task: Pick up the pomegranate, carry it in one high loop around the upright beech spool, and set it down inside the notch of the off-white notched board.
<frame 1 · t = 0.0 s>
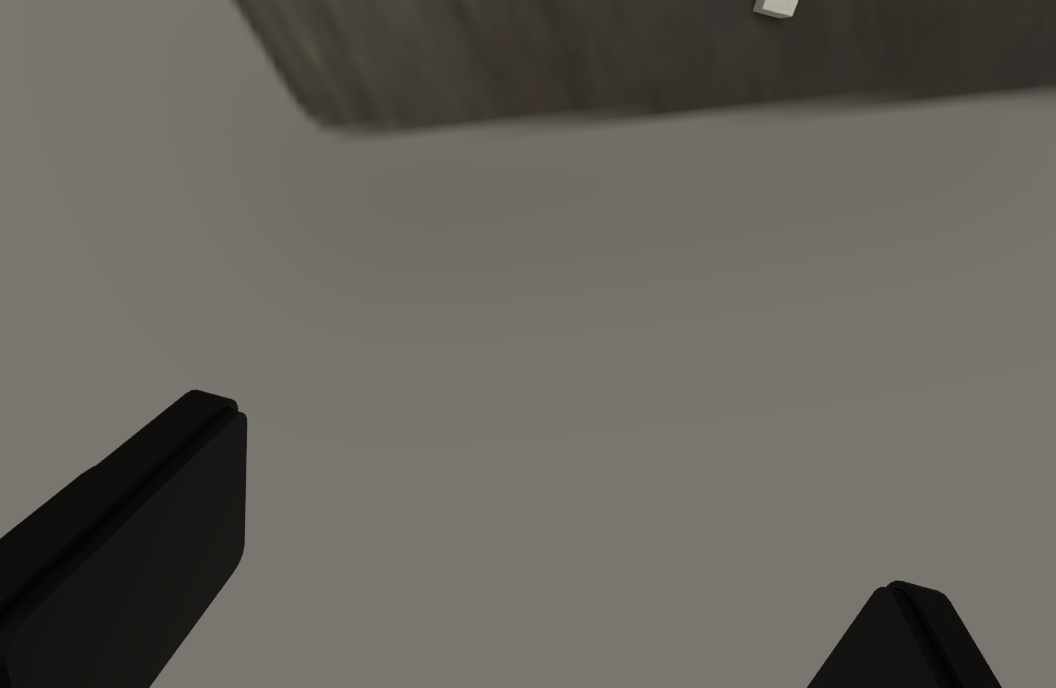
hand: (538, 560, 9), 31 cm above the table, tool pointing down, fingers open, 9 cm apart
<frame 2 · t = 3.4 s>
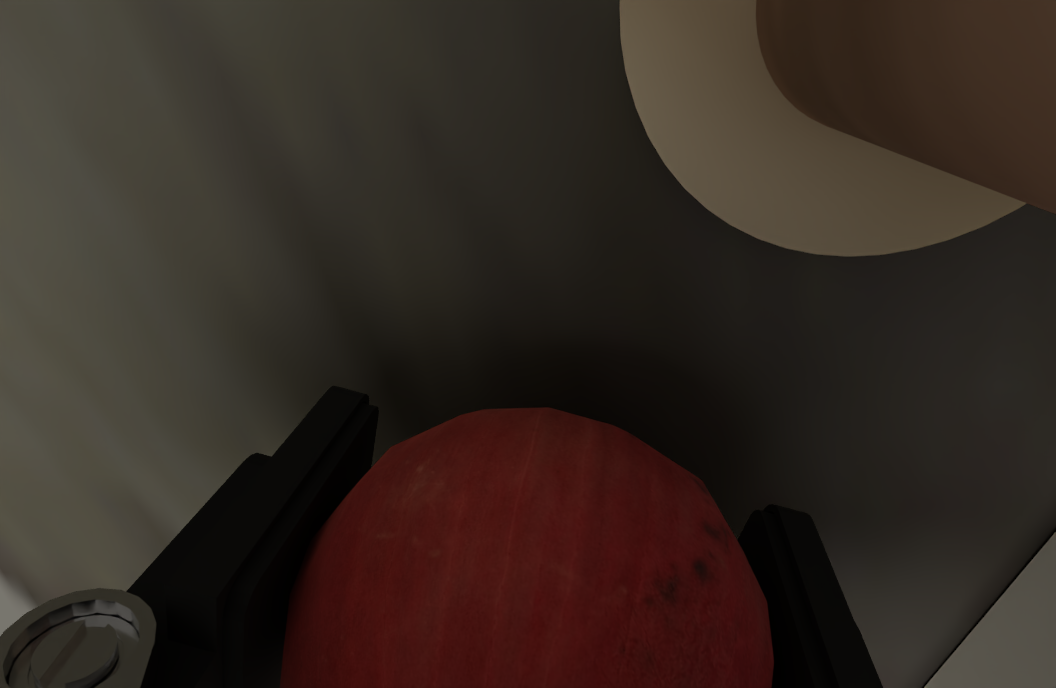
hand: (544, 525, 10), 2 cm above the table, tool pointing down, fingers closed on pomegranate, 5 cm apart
pomegranate: (554, 454, 11), on the table, touching gripper
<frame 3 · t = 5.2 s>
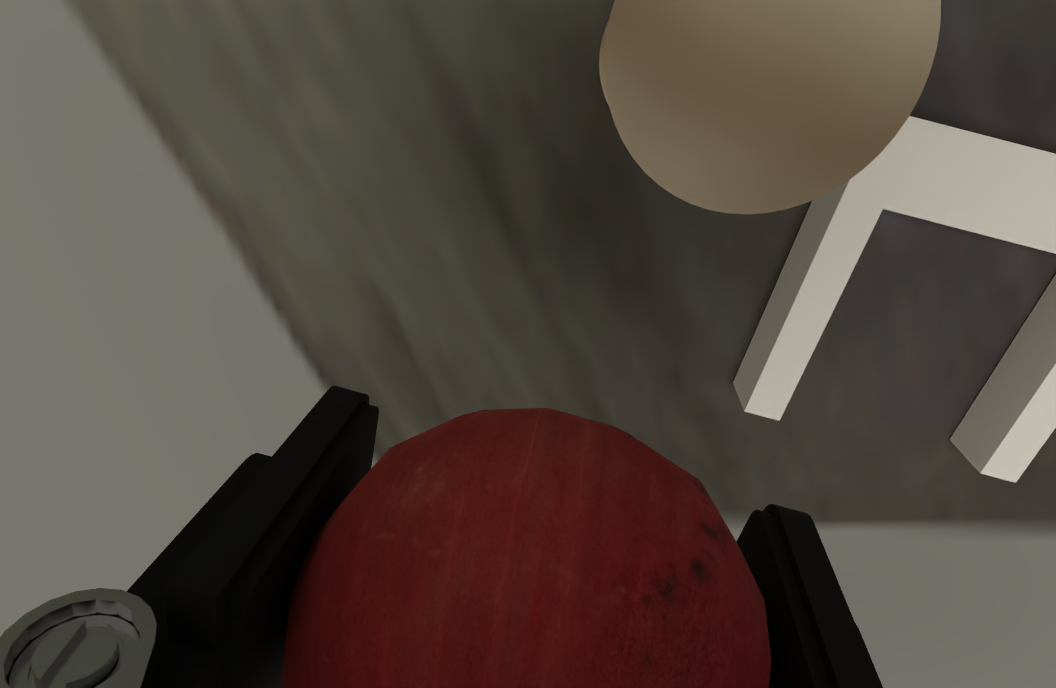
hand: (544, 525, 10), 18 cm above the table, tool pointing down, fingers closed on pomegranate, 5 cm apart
spool: (681, 59, 23), on the table
notched board: (924, 293, 25), on the table
pomegranate: (553, 454, 11), point 16 cm above the table, touching gripper
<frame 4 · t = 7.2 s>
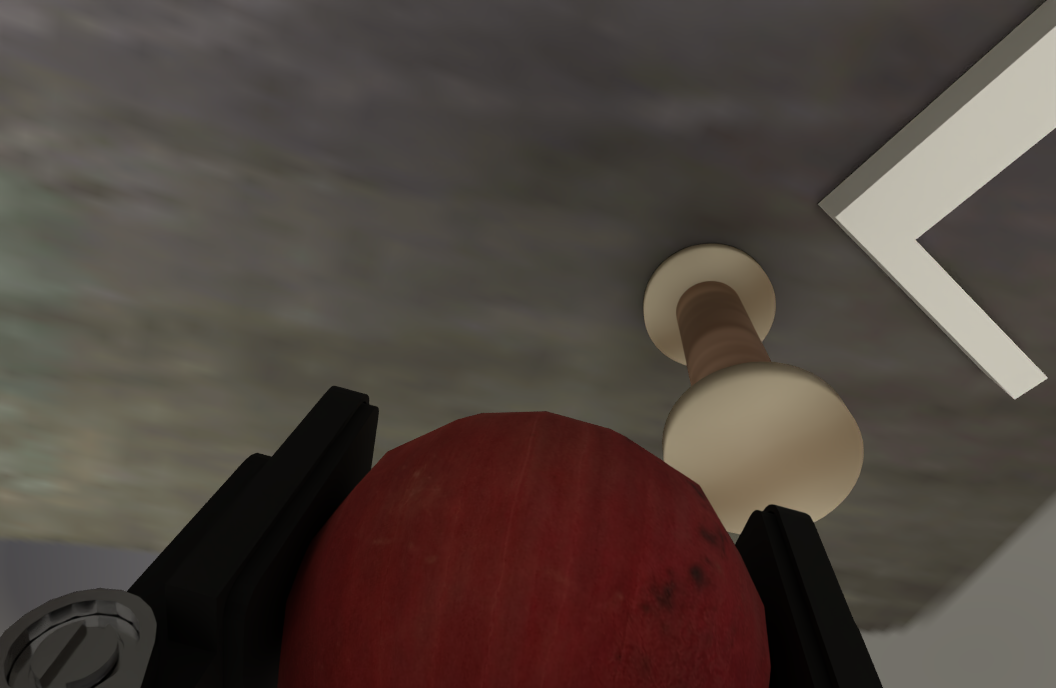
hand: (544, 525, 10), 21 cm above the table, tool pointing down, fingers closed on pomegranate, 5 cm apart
spool: (705, 303, 30), on the table
notched board: (1024, 199, 26), on the table
pomegranate: (552, 457, 11), point 19 cm above the table, touching gripper
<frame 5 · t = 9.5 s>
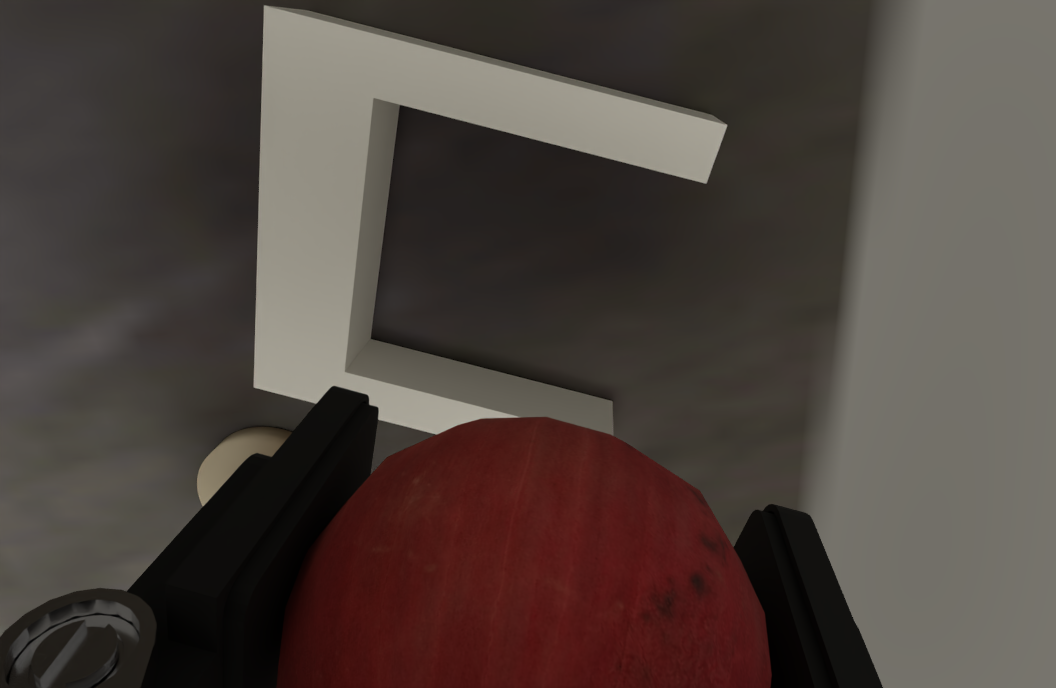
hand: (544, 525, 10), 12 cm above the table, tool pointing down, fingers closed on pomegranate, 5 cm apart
spool: (280, 486, 26), on the table
notched board: (472, 249, 20), on the table
pomegranate: (552, 461, 11), point 10 cm above the table, touching gripper
when the fingers open (3 cm above the table, at t = 11.2 s): pomegranate drops 1 cm, on the table.
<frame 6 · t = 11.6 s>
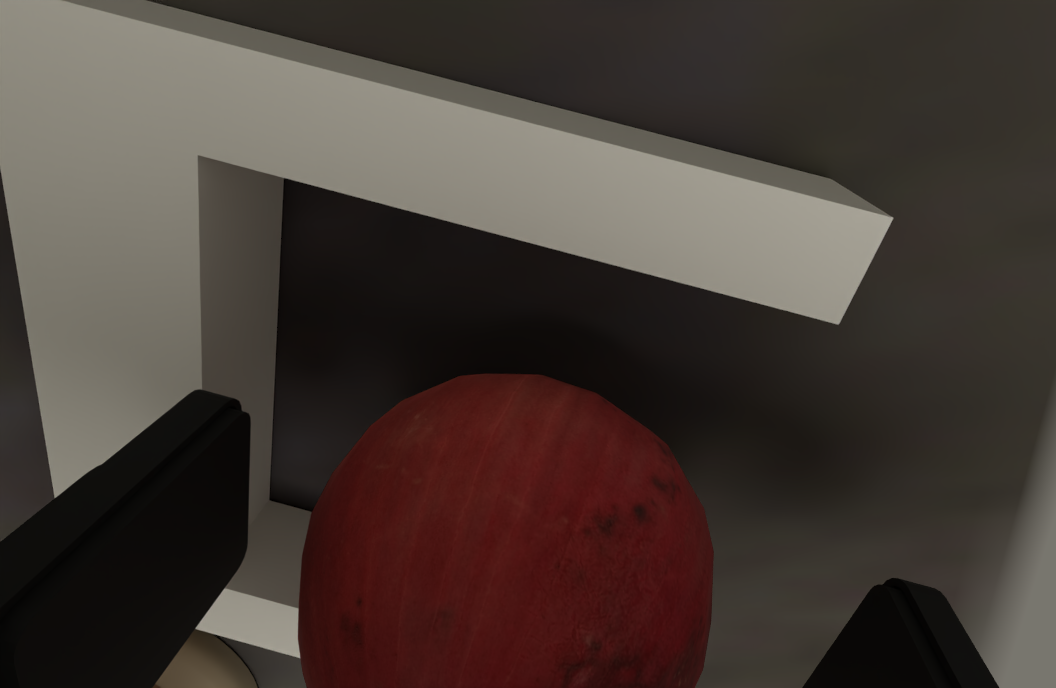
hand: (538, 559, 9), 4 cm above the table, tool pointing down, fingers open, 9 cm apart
spool: (162, 676, 18), on the table
notched board: (417, 382, 13), on the table
pomegranate: (560, 421, 13), on the table
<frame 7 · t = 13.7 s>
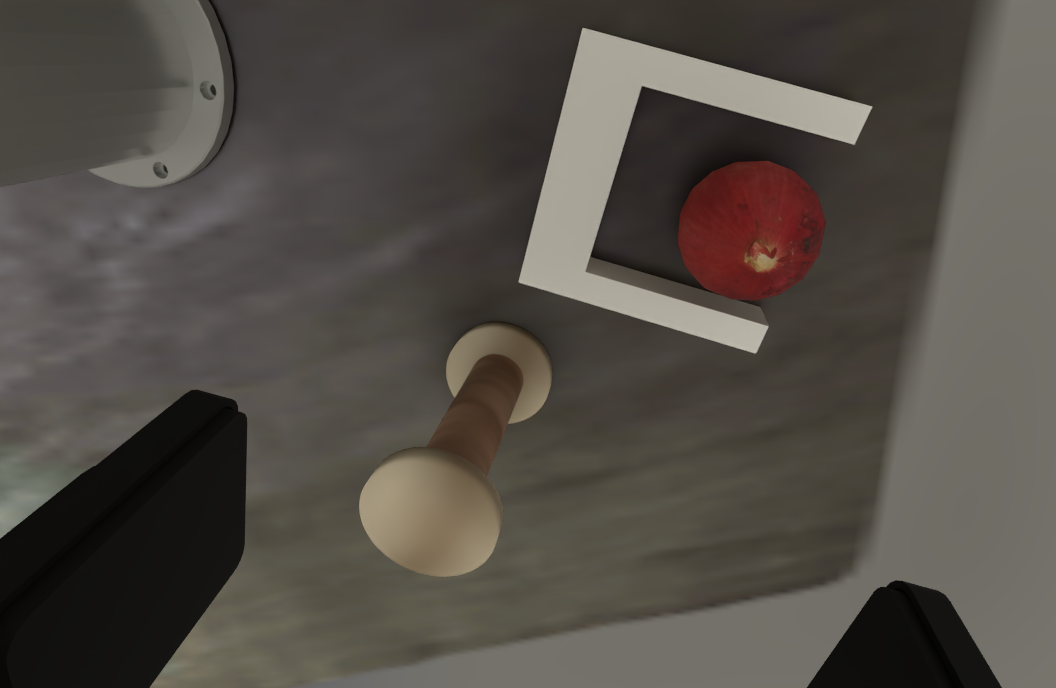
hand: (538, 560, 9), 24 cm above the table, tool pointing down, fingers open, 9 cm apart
spool: (501, 370, 36), on the table
notched board: (674, 192, 30), on the table
pomegranate: (734, 210, 30), on the table
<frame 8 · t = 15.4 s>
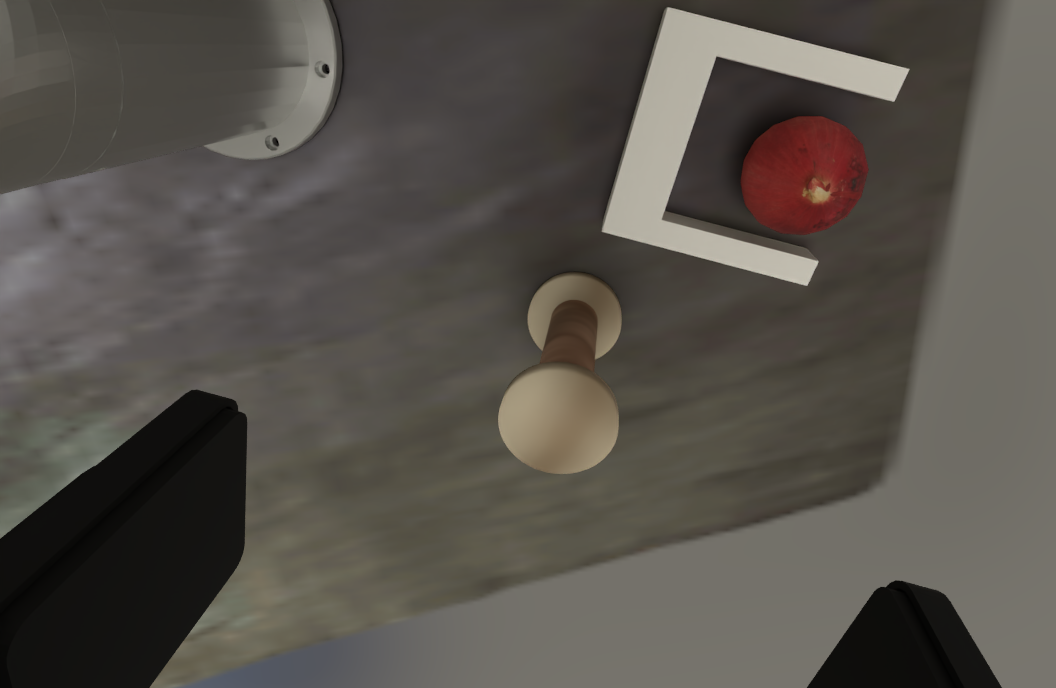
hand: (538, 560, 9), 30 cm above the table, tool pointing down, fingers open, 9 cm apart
spool: (575, 315, 40), on the table
notched board: (734, 150, 35), on the table
pomegranate: (785, 163, 35), on the table
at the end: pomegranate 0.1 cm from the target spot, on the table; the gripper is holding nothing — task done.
